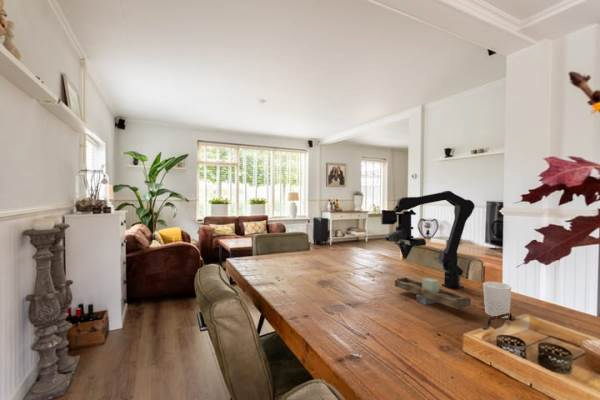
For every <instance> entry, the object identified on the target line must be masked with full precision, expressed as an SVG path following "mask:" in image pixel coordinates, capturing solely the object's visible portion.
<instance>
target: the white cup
mask: <svg viewBox="0 0 600 400" xmlns="http://www.w3.org/2000/svg"><path fill="white" fill-rule="evenodd" d="M482 289H483V302H484V309H485V310H484V312H485V314H487V315H488V316H490V317H493V318H495V317H494V316H498V315H501V314H506V313H509V314H510V311H511V310H510V309H511V303H512V301H511V300H512V286H511V285H508V284H507V283H503V282H499V281H484V282H482ZM508 318H509V317H507V316H505V317H502V318H501V319H508Z"/></svg>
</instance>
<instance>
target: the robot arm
mask: <svg viewBox="0 0 600 400" xmlns="http://www.w3.org/2000/svg"><path fill="white" fill-rule="evenodd" d="M441 201H446V202H448V203H449V204H450V205H452V206H453V207H454V209H453V212H454V213H453V214H454V219H453V223H452V227H451V230H450V232H449V233H450V234H449V237H448V240H447V244H446V247H445V249H444V250H439V252H438V253H439V255H438V256H437V260H438V264H439V266H441V267H442V269H443V271H445V272H444V276H443V278H444V279H443V280H444V282H443V283H441V286H443V287H446V288H449V289H452V290H457V289H461V288H464V285H461V276H462V275H463V273H464V270H463V269H462V268H461V267H460V266H458V250H459V245H460V243H461V239H462V235H463V233H464V229H465V226H466V222H467V221H468V219H469V218H470V217H471V215H472V213H473V212H474V209H475V203H474V202H473V201H472V200H470V199H465V198H464V197H463V196H462V197H461V196H460V195H457V194H456V193H454V192H452V191H451V190H444V191H441V192H436V193H431V194H426V195H422V196H421V195H420V196H413V197H412V196H406V197H405V196H404V197H402V196H401V197H399V198H398V200H397V202H396V205H395V207H394V208H393V209H382V210H381V216H380V223H381V225H382V226H383V225H384V226H385V225H387V226H389V225H392V226H393V225H395V224H396V223H397V226H396V227H395V230H393V231H391V232H390V233H388V234H387V235H386V236H385V241H387V242H391V243H392V242H393V243H394V245H396V246H398V248H399V250H400V253H401V255H402V258H403V259H404V260H406V259H408V256H409V254H410V253H411V251H412V249H413V247H423V246H427V240H426V239H425V238H423V237H414V235H413V234H412V230H414V227H413V226H412V216H416V215H417V213H416V212H415V211H414V210H413V209H414V208H416V207H418V206H421V205H425V204H426V205H427V204H430V203H431V204H432V203H437V202H441Z"/></svg>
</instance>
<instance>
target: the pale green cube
mask: <svg viewBox="0 0 600 400" xmlns="http://www.w3.org/2000/svg"><path fill="white" fill-rule="evenodd" d="M421 280H422V281H421V283H422V289H426V290H428V291H431V292H434V293H438V292H439V288H440V280H439V279H435V278H432V277H425V278H421Z"/></svg>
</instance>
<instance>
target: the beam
mask: <svg viewBox="0 0 600 400" xmlns="http://www.w3.org/2000/svg"><path fill="white" fill-rule="evenodd" d="M394 286H395V287H396V288H398V289H401V290H405V291H407V292H409V293H412V294H415V295H416V297H415V298H416V300H415V302H416V303H419V304H422V305H423V306H427V305H432V304H434V303H440V304H441V305H444V306H445V305H446V306H448V307H450V308H452V309H456V310H459V309H463V308H467V307H471V304H472V303H471V302H472V301H471V297H468V296H465V295H462V294H458V293H455V292H452V291H448V290H445V289H443V288H440V287H439V292H438V293H434V292H431V291H428V290H426V289H422V281H418V280H414V279H412V278H410V277H409V278H408V277H405V276H404V277H403V276H402V277H400V278H399V277H398V278H396V279H395V280H394Z"/></svg>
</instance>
